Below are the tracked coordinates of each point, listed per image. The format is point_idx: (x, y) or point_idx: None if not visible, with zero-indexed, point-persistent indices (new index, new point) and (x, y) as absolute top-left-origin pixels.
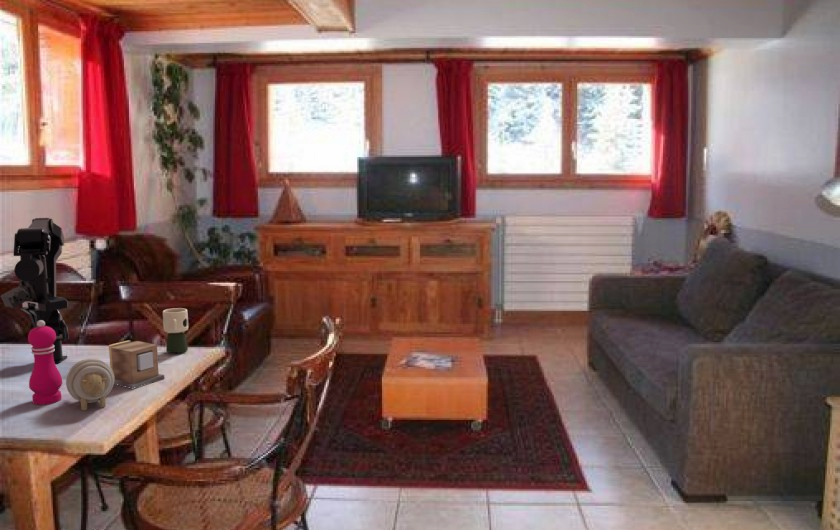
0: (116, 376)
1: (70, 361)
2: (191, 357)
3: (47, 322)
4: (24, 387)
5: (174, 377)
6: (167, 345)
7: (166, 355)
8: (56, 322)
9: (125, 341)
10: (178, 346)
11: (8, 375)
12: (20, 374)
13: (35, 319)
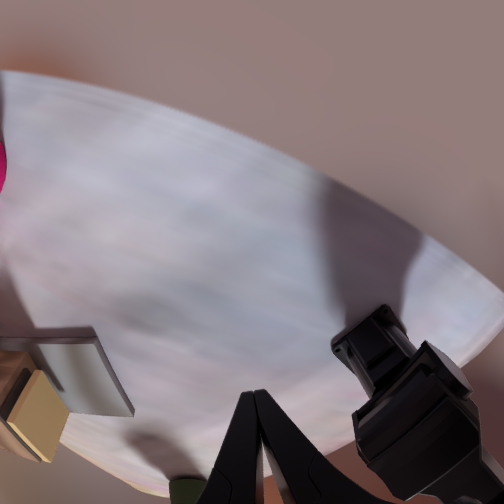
0: (15, 355)
1: (321, 372)
2: (135, 475)
3: (401, 442)
4: (138, 158)
5: None
6: (189, 489)
7: (181, 472)
8: (372, 461)
9: (41, 455)
10: (170, 491)
11: (348, 190)
12: (324, 222)
13: (241, 485)
